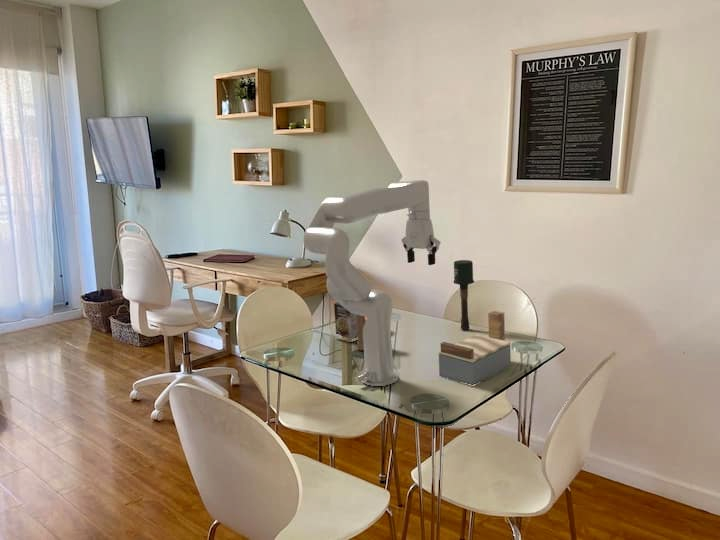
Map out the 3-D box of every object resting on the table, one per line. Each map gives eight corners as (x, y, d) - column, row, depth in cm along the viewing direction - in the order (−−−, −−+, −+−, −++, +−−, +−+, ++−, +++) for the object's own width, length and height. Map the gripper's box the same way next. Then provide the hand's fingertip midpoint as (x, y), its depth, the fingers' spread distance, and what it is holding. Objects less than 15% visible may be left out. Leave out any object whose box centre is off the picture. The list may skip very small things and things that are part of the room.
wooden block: (384, 350, 215) (381, 306, 211) (357, 351, 216) (354, 307, 212) (384, 347, 218) (382, 304, 215) (358, 348, 219) (355, 305, 216)
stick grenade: (460, 325, 240) (458, 259, 234) (478, 328, 235) (476, 260, 229) (451, 331, 233) (449, 262, 227) (470, 333, 228) (468, 264, 222)
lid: (472, 362, 174) (472, 351, 173) (438, 353, 184) (438, 342, 183) (510, 344, 188) (510, 333, 187) (476, 336, 198) (476, 326, 198)
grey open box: (473, 386, 175) (472, 363, 174) (439, 376, 185) (438, 354, 184) (510, 366, 190) (510, 345, 188) (477, 358, 200) (476, 337, 198)
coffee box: (335, 339, 232) (333, 303, 229) (345, 335, 236) (343, 300, 233) (351, 343, 226) (349, 306, 223) (361, 339, 231) (359, 302, 227)
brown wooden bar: (498, 363, 193) (497, 315, 190) (489, 360, 196) (488, 313, 193) (505, 360, 196) (504, 312, 193) (495, 357, 199) (494, 310, 196)
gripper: (394, 216, 195) (396, 263, 198) (431, 217, 182) (433, 267, 186) (408, 214, 200) (410, 259, 203) (445, 215, 187) (447, 263, 191)
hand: (421, 263), depth 194 cm, fingers open, 9 cm apart
